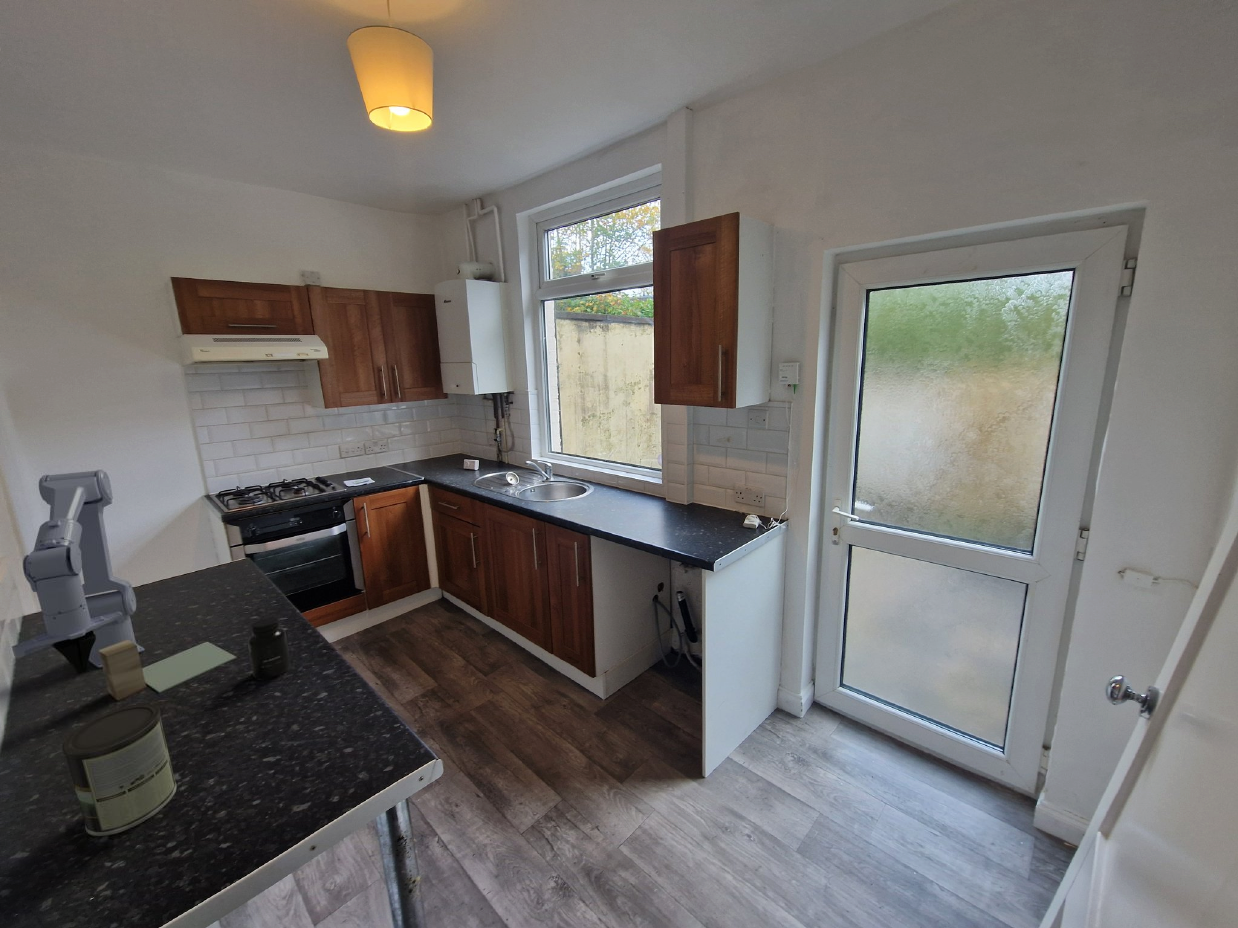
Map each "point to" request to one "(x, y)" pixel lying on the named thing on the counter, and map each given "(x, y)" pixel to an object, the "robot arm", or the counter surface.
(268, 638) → the supplement bottle
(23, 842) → the counter surface
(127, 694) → the maple block
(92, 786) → the coffee can
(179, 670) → the mat
